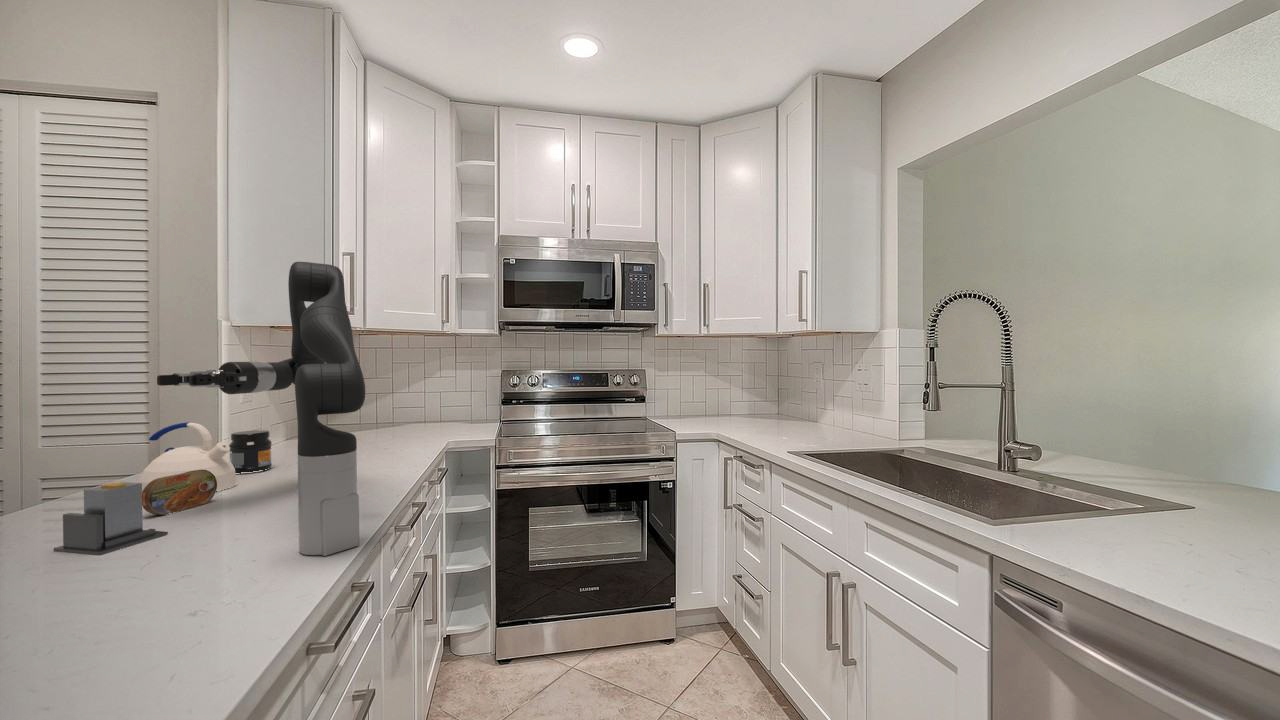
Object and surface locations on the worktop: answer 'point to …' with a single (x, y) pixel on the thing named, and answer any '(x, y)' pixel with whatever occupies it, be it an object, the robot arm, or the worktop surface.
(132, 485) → the metal block with pad
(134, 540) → the bracket
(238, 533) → the worktop surface
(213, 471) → the kettle
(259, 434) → the supplement container
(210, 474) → the tin
